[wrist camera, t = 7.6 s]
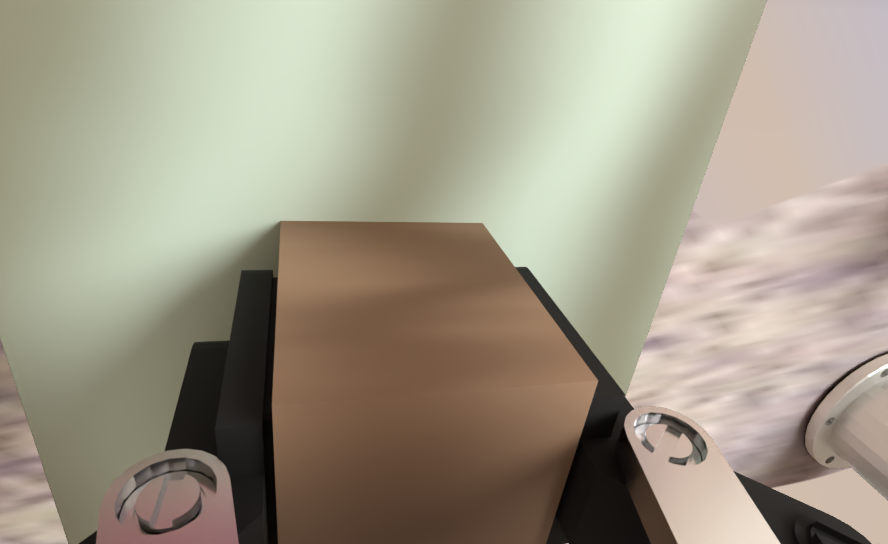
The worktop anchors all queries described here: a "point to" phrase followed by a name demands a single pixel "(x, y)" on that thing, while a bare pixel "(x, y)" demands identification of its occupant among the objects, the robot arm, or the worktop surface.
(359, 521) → the lid
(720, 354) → the worktop surface
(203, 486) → the robot arm
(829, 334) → the worktop surface
